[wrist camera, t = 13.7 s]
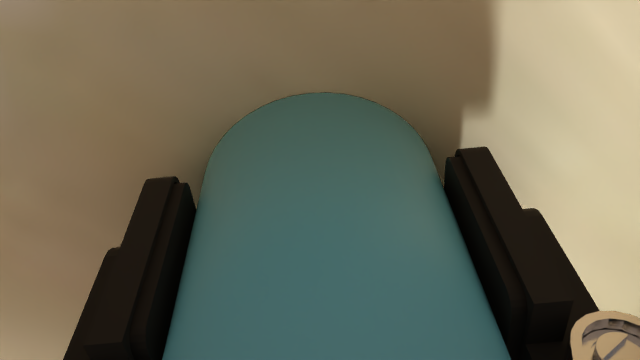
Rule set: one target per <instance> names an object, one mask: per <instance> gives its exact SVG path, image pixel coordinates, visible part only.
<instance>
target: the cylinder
mask: <svg viewBox="0 0 640 360" xmlns="http://www.w3.org/2000/svg"><path fill="white" fill-rule="evenodd" d="M162 360H511V358H510V355H509V353H508V350H507V348H506V345H505V343H504V340H503V337H502V335H501V332H500V330H499V327H498V325H497V322H496V320H495V317H494V315H493V312H492V310H491V307H490V304H489V302H488V299H487V297H486V294H485V292H484V289H483V287H482V284H481V282H480V279H479V276H478V274H477V271H476V269H475V266H474V264H473V261H472V259H471V256H470V254H469V251H468V249H467V246H466V243H465V241H464V238H463V236H462V233H461V231H460V228H459V226H458V223H457V221H456V218H455V216H454V213H453V210H452V208H451V205H450V203H449V200H448V198H447V195H446V193H445V190H444V188H443V185H442V183H441V180H440V177H439V175H438V172H437V170H436V167H435V165H434V162H433V160H432V157H431V155H430V152H429V150H428V148H427V146H426V145H425V143H424V141H423V140H422V138H421V137H420V136H419V134H418V133H417V132H416V131H415V130H414V128H413V127H412V126H410V125H409V124H408V123H407V122H406V121H405V120H404V119H403V118H401V117H400V116H398V115H397V114H395V113H394V112H393V111H391V110H389V109H387V108H385V107H383V106H381V105H379V104H377V103H375V102H372V101H369V100H366V99H363V98H360V97H356V96H351V95H346V94H337V93H308V94H302V95H296V96H291V97H287V98H284V99H280V100H277V101H274V102H272V103H269V104H267V105H265V106H262V107H260V108H258V109H257V110H255V111H253V112H252V113H250V114H248V115H246V116H245V117H244V118H243V119H241V120H240V121H239V122H237V123H236V124H235V125H234V126H233V127H232V128H231V129H230V130H229V131H228V132H227V133H226V134H225V135H224V136H223V138H222V139H221V140H220V142H219V143H218V144H217V146H216V147H215V149H214V151H213V153H212V155H211V157H210V159H209V162H208V165H207V168H206V171H205V175H204V179H203V183H202V188H201V192H200V196H199V201H198V205H197V210H196V214H195V218H194V223H193V227H192V231H191V236H190V240H189V245H188V249H187V253H186V258H185V262H184V266H183V271H182V275H181V280H180V284H179V288H178V293H177V297H176V301H175V306H174V310H173V314H172V319H171V323H170V328H169V332H168V336H167V341H166V345H165V349H164V354H163V358H162Z"/></svg>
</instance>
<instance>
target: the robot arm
mask: <svg viewBox="0 0 640 360" xmlns="http://www.w3.org/2000/svg"><path fill="white" fill-rule="evenodd" d="M444 190H445V193H446V195H447V198H448V200H449V203H450V205H451V208H452V210H453V213H454V216H455V218H456V221H457V223H458V226H459V228H460V231H461V233H462V236H463V238H464V241H465V243H466V246H467V249H468V251H469V254H470V256H471V259H472V261H473V264H474V266H475V269H476V271H477V274H478V276H479V279H480V282H481V284H482V287H483V289H484V292H485V294H486V297H487V299H488V302H489V304H490V307H491V310H492V312H493V315H494V317H495V320H496V322H497V325H498V327H499V330H500V332H501V335H502V337H503V340H504V343H505V345H506V348H507V350H508V353H509V355H510V358H511V360H640V318H638V317H636V316H633V315H631V314H626V313H621V312H617V311H599V309H598V307H597V306H596V304H595V302H594V301H593V299H592V297H591V296H590V294H589V292H588V291H587V289H586V287H585V286H584V284H583V282H582V281H581V279H580V277H579V276H578V274H577V272H576V271H575V269H574V268H573V266H572V264H571V263H570V261H569V259H568V258H567V256H566V254H565V253H564V251H563V249H562V248H561V246H560V244H559V243H558V241H557V239H556V238H555V236H554V234H553V233H552V231H551V229H550V228H549V226H548V224H547V223H546V221H545V219H544V218H543V216H542V215H541V213H540V212H539V211H538V210H537V209H534V208H530V209H522V208H521V206H520V204H519V202H518V201H517V199H516V197H515V195H514V193H513V192H512V190H511V188H510V186H509V185H508V183H507V181H506V179H505V177H504V176H503V174H502V172H501V170H500V169H499V167H498V165H497V163H496V162H495V160H494V158H493V156H492V154H491V153H490V151H489V149H488V148H487V147H476V148H466V149H458V150H457V151H456V153H455V157H448V158H447V159H446V165H445V183H444ZM195 214H196V208H195V204H194V201H193V197H192V194H191V190H190V187H189V185H188V183H180V182H179V180H178V178H177V177H175V176H174V177H163V178H153V179H147V180H146V181H145V183H144V186H143V188H142V191H141V194H140V196H139V199H138V202H137V204H136V207H135V210H134V212H133V215H132V217H131V220H130V223H129V225H128V228H127V231H126V233H125V236H124V239H123V241H122V244H121V246H120V247H117V248H111V249H110V250H108V252H107V254H106V255H105V257H104V260H103V262H102V265H101V267H100V270H99V272H98V275H97V277H96V280H95V282H94V285H93V287H92V290H91V292H90V294H89V297H88V299H87V302H86V304H85V307H84V309H83V312H82V314H81V317H80V319H79V322H78V324H77V327H76V329H75V332H74V334H73V336H72V339H71V341H70V344H69V346H68V349H67V351H66V354H65V356H64V359H63V360H162V358H163V354H164V349H165V345H166V341H167V336H168V332H169V328H170V323H171V319H172V314H173V310H174V306H175V301H176V297H177V293H178V288H179V284H180V280H181V275H182V271H183V266H184V262H185V258H186V253H187V249H188V245H189V240H190V236H191V231H192V227H193V223H194V218H195Z"/></svg>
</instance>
